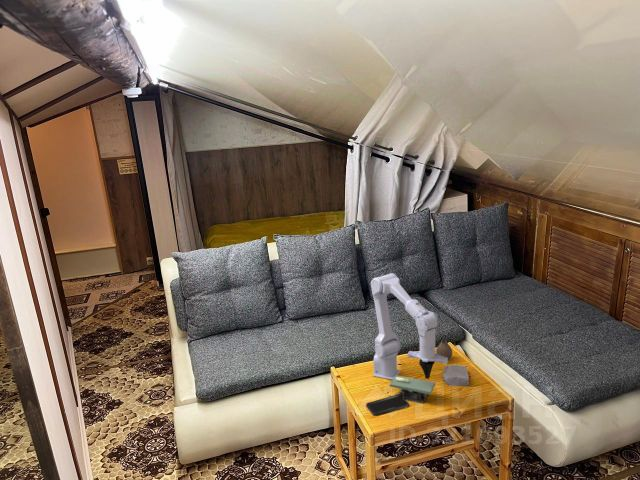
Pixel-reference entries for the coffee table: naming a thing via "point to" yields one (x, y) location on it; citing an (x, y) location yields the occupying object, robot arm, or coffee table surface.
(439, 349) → the vase
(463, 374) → the stone block
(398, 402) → the phone
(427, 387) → the plate
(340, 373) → the coffee table surface
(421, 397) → the tribrach base
